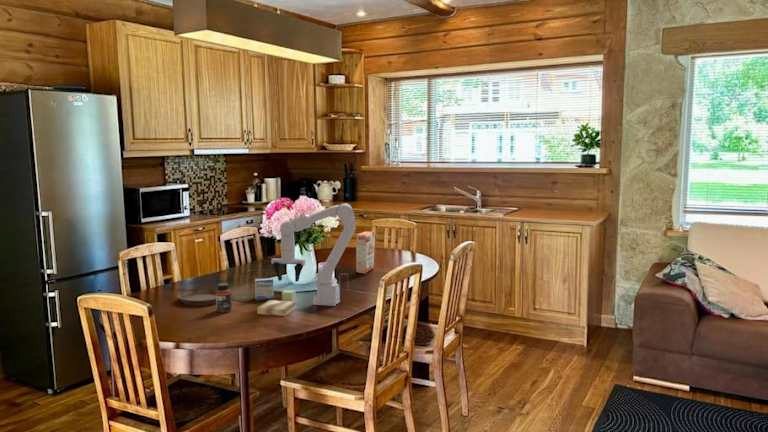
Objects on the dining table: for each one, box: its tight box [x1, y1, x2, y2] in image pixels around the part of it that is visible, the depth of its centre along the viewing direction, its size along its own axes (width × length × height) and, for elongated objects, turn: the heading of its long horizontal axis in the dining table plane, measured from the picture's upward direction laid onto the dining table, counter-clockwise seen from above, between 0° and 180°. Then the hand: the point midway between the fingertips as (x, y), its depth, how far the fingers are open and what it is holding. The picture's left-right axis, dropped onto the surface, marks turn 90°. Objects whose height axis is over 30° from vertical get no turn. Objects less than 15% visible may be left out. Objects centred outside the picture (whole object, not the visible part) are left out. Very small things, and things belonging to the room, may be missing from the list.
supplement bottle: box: [215, 282, 233, 314], centre depth 238 cm, size 6×6×11 cm
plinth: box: [256, 299, 297, 317], centre depth 239 cm, size 12×12×3 cm
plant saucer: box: [177, 287, 218, 306], centre depth 255 cm, size 21×21×3 cm
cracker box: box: [355, 231, 375, 274], centre depth 310 cm, size 14×6×21 cm, turn 163°
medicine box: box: [254, 277, 275, 301], centre depth 258 cm, size 8×4×9 cm, turn 105°
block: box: [281, 289, 297, 303], centre depth 249 cm, size 4×4×6 cm
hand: (288, 280), depth 248 cm, fingers open, 7 cm apart
